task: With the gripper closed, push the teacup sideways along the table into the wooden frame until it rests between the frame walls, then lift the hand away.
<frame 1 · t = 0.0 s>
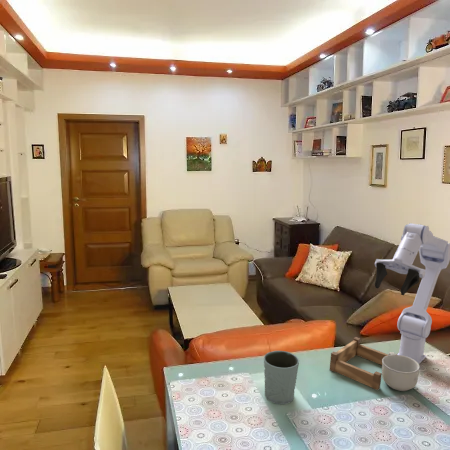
hand: (388, 289, 126), 32 cm above the table, tool tilted 50°, fingers open, 7 cm apart
teacup: (396, 383, 137), on the table
grey tumbler: (278, 396, 127), on the table
wooden frame: (366, 370, 143), on the table
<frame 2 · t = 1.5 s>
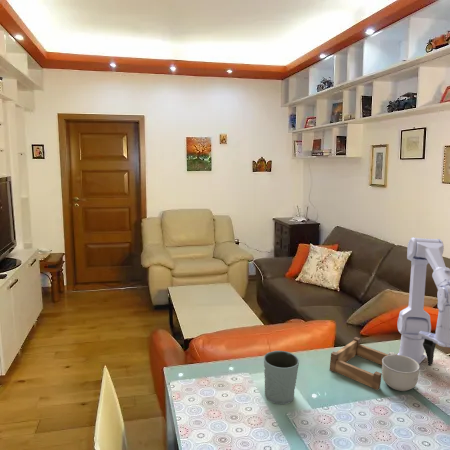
hand: (441, 368, 127), 10 cm above the table, tool pointing down, fingers open, 6 cm apart
nothing on the table moved.
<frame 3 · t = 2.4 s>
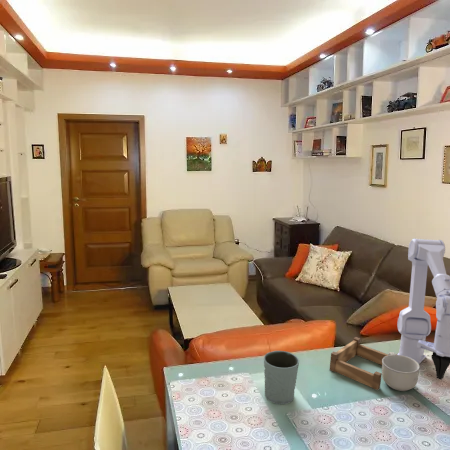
hand: (440, 377, 127), 7 cm above the table, tool pointing down, fingers closed
nothing on the table moved.
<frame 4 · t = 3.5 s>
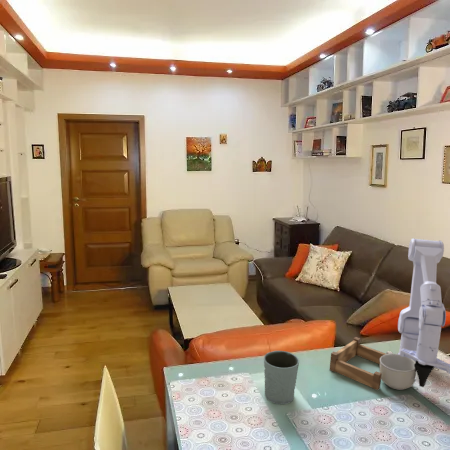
hand: (422, 385, 131), 2 cm above the table, tool pointing down, fingers closed
teacup: (394, 382, 137), on the table, touching gripper
everything else where it was.
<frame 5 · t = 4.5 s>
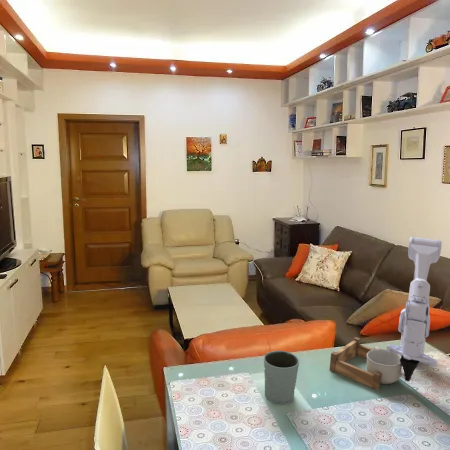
hand: (407, 379, 134), 2 cm above the table, tool pointing down, fingers closed
teacup: (381, 376, 140), on the table, touching gripper
everything else where it was.
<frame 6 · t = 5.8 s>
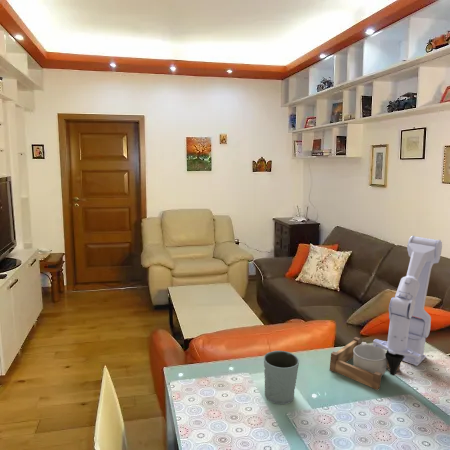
hand: (393, 374, 137), 2 cm above the table, tool pointing down, fingers closed
teacup: (367, 371, 143), on the table, touching gripper
everything else where it was.
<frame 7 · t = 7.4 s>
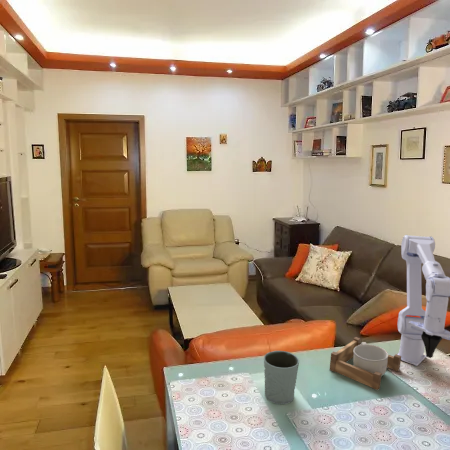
hand: (429, 356, 134), 10 cm above the table, tool pointing down, fingers closed
teacup: (367, 371, 143), on the table
everything else where it was.
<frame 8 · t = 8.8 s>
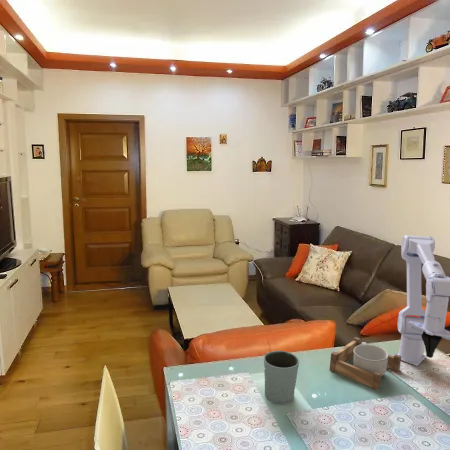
hand: (429, 356, 134), 10 cm above the table, tool pointing down, fingers closed
nothing on the table moved.
at the end: teacup inside the target area (1.5 cm from its centre), on the table; teacup tilted 0°; teacup moved 9.7 cm from its start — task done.
